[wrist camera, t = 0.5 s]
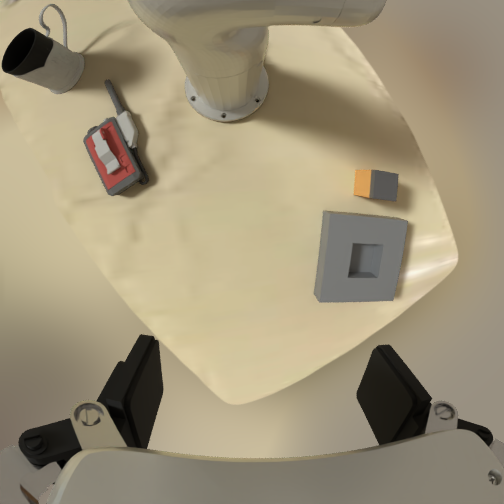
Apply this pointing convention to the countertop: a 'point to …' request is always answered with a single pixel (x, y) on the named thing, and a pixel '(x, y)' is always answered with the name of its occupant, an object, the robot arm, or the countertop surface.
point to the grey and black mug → (43, 58)
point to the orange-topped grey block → (376, 184)
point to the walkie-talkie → (116, 149)
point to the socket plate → (359, 257)
